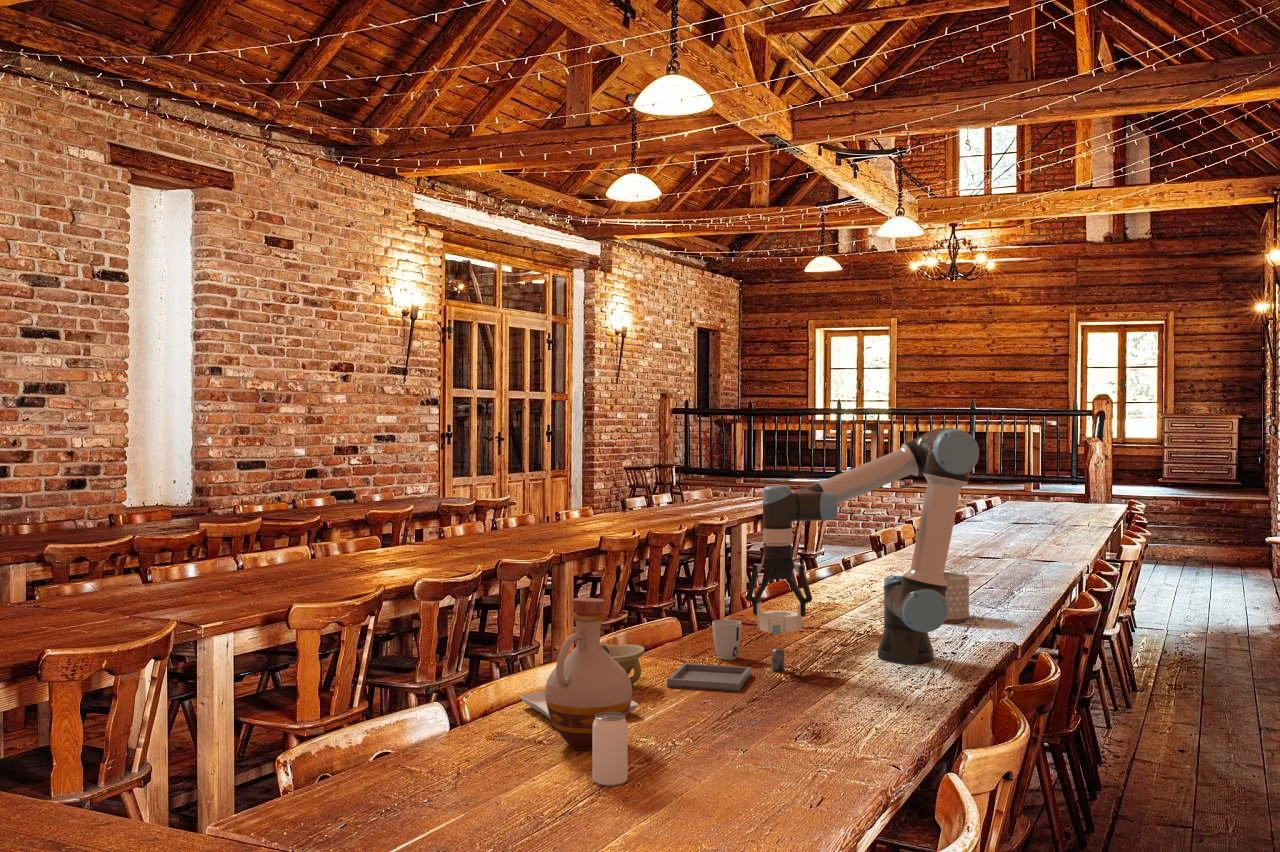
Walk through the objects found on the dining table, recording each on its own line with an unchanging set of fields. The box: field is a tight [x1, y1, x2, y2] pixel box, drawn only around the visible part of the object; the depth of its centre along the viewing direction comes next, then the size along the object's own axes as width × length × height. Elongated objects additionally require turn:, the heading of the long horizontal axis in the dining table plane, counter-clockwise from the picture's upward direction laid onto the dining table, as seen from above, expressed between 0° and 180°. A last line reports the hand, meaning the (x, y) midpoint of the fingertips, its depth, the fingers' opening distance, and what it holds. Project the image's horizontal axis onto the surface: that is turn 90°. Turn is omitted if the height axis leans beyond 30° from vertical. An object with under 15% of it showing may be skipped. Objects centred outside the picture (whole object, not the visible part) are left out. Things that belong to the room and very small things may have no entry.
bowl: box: [601, 644, 646, 686], centre depth 268 cm, size 18×18×10 cm
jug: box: [544, 597, 633, 751], centre depth 219 cm, size 20×18×30 cm
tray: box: [666, 662, 752, 693], centre depth 274 cm, size 18×18×2 cm
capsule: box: [771, 648, 785, 673], centre depth 285 cm, size 3×3×6 cm
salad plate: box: [519, 690, 639, 720], centre depth 245 cm, size 21×21×3 cm
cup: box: [711, 619, 742, 661], centre depth 300 cm, size 8×8×10 cm
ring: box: [759, 610, 799, 635], centre depth 284 cm, size 10×12×4 cm
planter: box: [943, 571, 970, 624], centre depth 359 cm, size 19×19×14 cm
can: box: [592, 712, 629, 787], centre depth 198 cm, size 6×6×12 cm
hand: (779, 628), depth 285 cm, fingers closed on ring, 10 cm apart
